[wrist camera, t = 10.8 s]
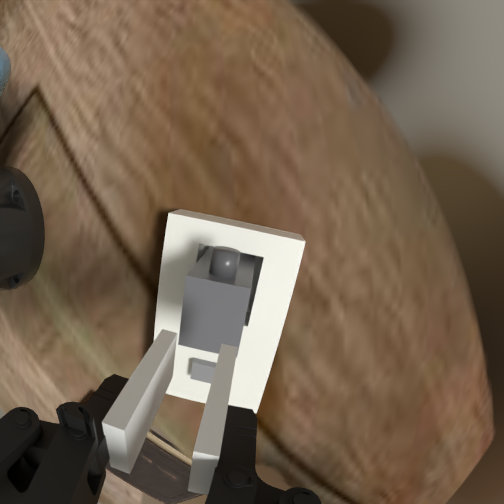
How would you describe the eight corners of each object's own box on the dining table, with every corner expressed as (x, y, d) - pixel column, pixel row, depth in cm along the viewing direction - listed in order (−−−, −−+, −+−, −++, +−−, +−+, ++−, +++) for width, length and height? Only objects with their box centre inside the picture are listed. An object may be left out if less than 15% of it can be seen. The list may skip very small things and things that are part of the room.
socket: (161, 370, 31) (149, 393, 26) (180, 208, 26) (165, 213, 22) (257, 392, 31) (256, 418, 26) (300, 234, 27) (306, 243, 22)
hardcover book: (99, 387, 33) (92, 397, 30) (227, 475, 36) (225, 486, 33) (63, 425, 36) (57, 433, 33) (169, 497, 39) (167, 506, 36)
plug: (203, 296, 28) (178, 344, 19) (214, 227, 26) (189, 249, 17) (245, 305, 28) (236, 357, 19) (259, 236, 26) (256, 263, 17)
